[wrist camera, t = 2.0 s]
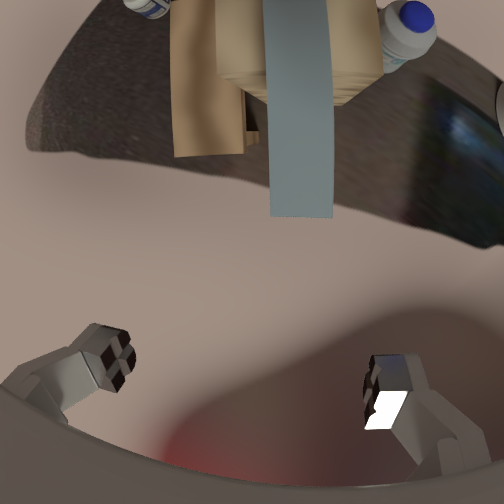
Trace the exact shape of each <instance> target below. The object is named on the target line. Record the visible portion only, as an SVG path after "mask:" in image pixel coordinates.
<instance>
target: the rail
mask: <svg viewBox="0 0 504 504" xmlns="http://www.w3.org/2000/svg"><path fill="white" fill-rule="evenodd" d="M263 18H264V37H265V58H266V81H267V107H268V136H269V172H270V215H271V216H275V217H311V218H312V217H313V218H332V217H333V190H334V105H333V79H332V61H331V47H330V34H329V23H328V13H327V4H326V0H263Z"/></svg>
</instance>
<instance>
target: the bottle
mask: <svg viewBox="0 0 504 504" xmlns="http://www.w3.org/2000/svg"><path fill="white" fill-rule="evenodd" d="M378 19H379V27H380V35H381V45H382V55H383V68H384V73H391V72H393V71H395V70H397V69H398V68H399V67H400V66H401V65H402V64H403V63H404V62H406V61H408V60H409V59H415V58H417V57H420V56H422V55H423V54H425V53H426V52H427V51H428V49H429V48H430V46H431V45H432V44H433V43H434V41H435V39H436V36H437V29H436V25H435V22H434V15H433V13H432V11H431V10H430V9H429V8H428V7H427V6H426V5H425V4H423V3H421V2H419V1H407V0H397V1H394V2H392V3H390V4H389V5H388V6H386V7H385V8H384V9H382V10H381V11H379V13H378Z"/></svg>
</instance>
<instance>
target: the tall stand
mask: <svg viewBox="0 0 504 504" xmlns="http://www.w3.org/2000/svg"><path fill="white" fill-rule="evenodd" d="M326 4H327V13H328V23H329V34H330V47H331V61H332V79H333V105H340V106H342V105H344V104H345V103H346V102H348V101H349V100H350V99H352V98H353V97H354V96H356V95H357V94H358V93H360V92H361V91H362V90H364V89H365V88H366V87H368V86H369V85H370V84H372V83H373V82H375V81H376V80H377V79H379V78H380V77H382V76H383V75H384V68H383V55H382V45H381V35H380V27H379V19H378V12H377V5H376V0H326ZM215 24H216V63H217V75H219V76H220V77H222V78H224V79H226V80H228V81H229V82H231V83H233V84H235V85H236V86H238V87H240V88H241V89H243V90H245V91H246V92H248V93H250V94H251V95H253V96H255V97H256V98H258V99H260V100H261V101H263V102H264V103H266V104H267V81H266V58H265V37H264V18H263V0H215Z"/></svg>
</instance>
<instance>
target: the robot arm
mask: <svg viewBox="0 0 504 504" xmlns="http://www.w3.org/2000/svg"><path fill="white" fill-rule="evenodd" d="M496 111H497V118H498V122H499V126H500V129H501V131H502V134H503V136H504V82H503V83H502V84H501V86H500V88H499V90H498V93H497V99H496ZM130 340H131V338H130V336H129V333H128V332H127V331H125V330H122V329H118V328H114V327H110V326H106V325H100V324H96V323H92V324H90V325H89V326H88V327H87V328H86V329H85V330H84V331H83V332H82V333H81V334H80V335H79V336H78V337H77V338H76V339H75V340H74V341H73V343H72V344H71V345H70V346H69V347H63V348H60V349H58V350H55V351H53V352H51V353H48V354H46V355H43V356H41V357H38V358H36V359H33V360H31V361H28V362H26V363H23V364H21V365H19V366H17V368H16V369H15V370H14V371H13V372H12V373H11V374H10V375H9V376H8V377H7V378H6V379H5V380H4V381H3V383H1V384H0V504H504V459H502V460H499V461H496V462H493V463H492V462H491V459H490V455H489V451H488V448H487V444H486V441H485V437H484V434H483V431H482V430H481V429H480V428H479V427H478V426H477V425H475V424H474V423H473V422H472V421H471V420H470V419H468V418H467V417H466V416H465V415H463V414H462V413H461V412H460V411H459V410H458V409H456V408H455V407H454V406H453V405H452V404H450V403H449V402H448V401H447V400H446V399H445V398H443V397H442V396H441V395H440V394H439V393H437V392H436V391H435V390H430V388H429V385H428V382H427V379H426V376H425V373H424V370H423V366H422V363H421V361H420V358H419V355H418V354H417V353H408V354H407V353H406V354H378V355H377V354H376V355H375V354H372V355H371V357H370V360H369V371H368V372H367V373H366V374H365V378H364V382H363V402H364V403H365V404H366V408H365V411H364V420H365V429H378V428H379V429H381V428H391V431H392V432H393V433H394V435H395V436H396V437H397V438H398V440H399V441H400V442H401V444H402V445H403V446H404V447H405V449H406V450H407V451H408V453H409V454H410V455H411V457H412V458H413V459H414V460H415V462H416V463H417V464H418V467H417V468H416V469H415V470H414V472H413V473H412V474H411V475H410V476H409V477H408V478H407V480H406V482H404V483H396V484H386V485H374V486H358V487H308V486H291V485H279V484H268V483H261V482H252V481H246V480H240V479H234V478H228V477H223V476H217V475H212V474H208V473H203V472H199V471H195V470H190V469H187V468H183V467H178V466H175V465H172V464H168V463H165V462H161V461H158V460H155V459H152V458H149V457H145V456H143V455H140V454H137V453H133V452H131V451H128V450H126V449H123V448H120V447H118V446H115V445H113V444H110V443H108V442H105V441H103V440H101V439H98V438H96V437H94V436H91V435H89V434H87V433H85V432H82V431H80V430H78V429H76V428H74V427H72V426H70V425H68V420H67V418H66V417H65V415H64V414H63V413H62V412H63V411H65V410H66V409H68V408H69V407H71V406H73V405H74V404H76V403H77V402H79V401H81V400H82V399H84V398H85V397H87V396H88V395H90V394H92V393H93V392H95V391H97V390H98V389H99V388H101V389H104V390H107V391H111V392H114V393H118V391H119V390H120V388H121V387H122V385H123V384H124V382H125V376H126V375H127V374H129V373H131V372H132V370H133V369H134V367H135V363H136V353H135V350H134V348H133V347H132V346H131V345H130V344H129V342H130Z"/></svg>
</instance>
